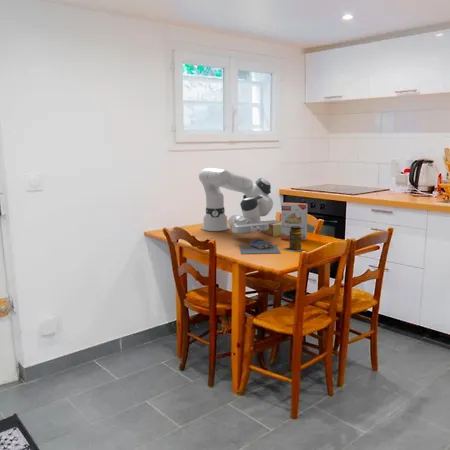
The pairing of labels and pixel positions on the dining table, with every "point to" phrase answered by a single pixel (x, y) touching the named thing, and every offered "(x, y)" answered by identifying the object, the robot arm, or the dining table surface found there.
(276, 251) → the slate mat
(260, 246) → the flask
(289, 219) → the cracker box
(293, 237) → the condiment
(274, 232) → the baking soda box
